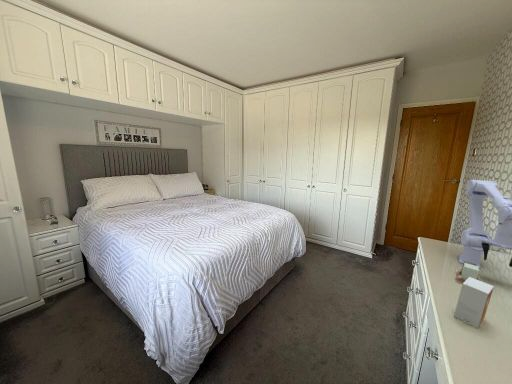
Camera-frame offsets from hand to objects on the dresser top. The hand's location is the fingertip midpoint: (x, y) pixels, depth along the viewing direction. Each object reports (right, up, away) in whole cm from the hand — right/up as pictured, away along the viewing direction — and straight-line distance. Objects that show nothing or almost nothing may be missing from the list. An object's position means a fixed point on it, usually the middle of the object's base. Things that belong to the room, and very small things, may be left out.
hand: (497, 262), depth 95 cm
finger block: (-12, -8, +1) cm, 15 cm away
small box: (-33, -13, -20) cm, 41 cm away
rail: (-10, -8, +4) cm, 13 cm away
